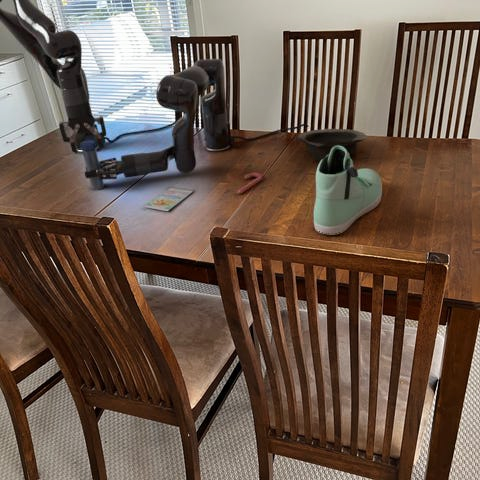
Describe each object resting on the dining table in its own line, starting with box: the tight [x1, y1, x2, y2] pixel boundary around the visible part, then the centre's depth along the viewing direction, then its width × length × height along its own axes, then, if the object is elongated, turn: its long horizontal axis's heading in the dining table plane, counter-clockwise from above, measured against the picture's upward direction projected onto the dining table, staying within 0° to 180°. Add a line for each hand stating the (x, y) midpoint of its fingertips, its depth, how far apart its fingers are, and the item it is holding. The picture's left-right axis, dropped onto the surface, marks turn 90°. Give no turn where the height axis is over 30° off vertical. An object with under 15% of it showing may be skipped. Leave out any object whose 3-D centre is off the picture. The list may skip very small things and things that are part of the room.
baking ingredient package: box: [143, 187, 194, 212], centre depth 152 cm, size 9×1×15 cm
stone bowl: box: [296, 128, 369, 163], centre depth 173 cm, size 25×25×9 cm
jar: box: [82, 148, 105, 191], centre depth 161 cm, size 4×4×15 cm
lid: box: [80, 141, 96, 151], centre depth 157 cm, size 5×5×2 cm
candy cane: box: [236, 172, 263, 195], centre depth 157 cm, size 6×15×2 cm, turn 145°
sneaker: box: [313, 146, 383, 236], centre depth 133 cm, size 14×35×20 cm, turn 152°
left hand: (88, 150), depth 158 cm, fingers open, 7 cm apart
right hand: (85, 172), depth 161 cm, fingers closed on jar, 4 cm apart
